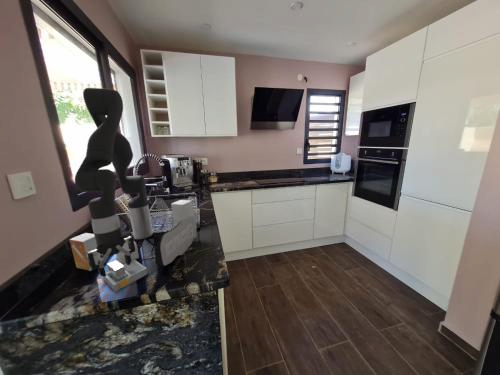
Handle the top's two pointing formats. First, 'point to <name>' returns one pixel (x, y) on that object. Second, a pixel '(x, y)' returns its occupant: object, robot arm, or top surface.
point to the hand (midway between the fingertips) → (116, 269)
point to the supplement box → (182, 210)
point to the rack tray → (127, 275)
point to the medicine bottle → (133, 255)
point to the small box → (83, 250)
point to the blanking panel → (116, 271)
